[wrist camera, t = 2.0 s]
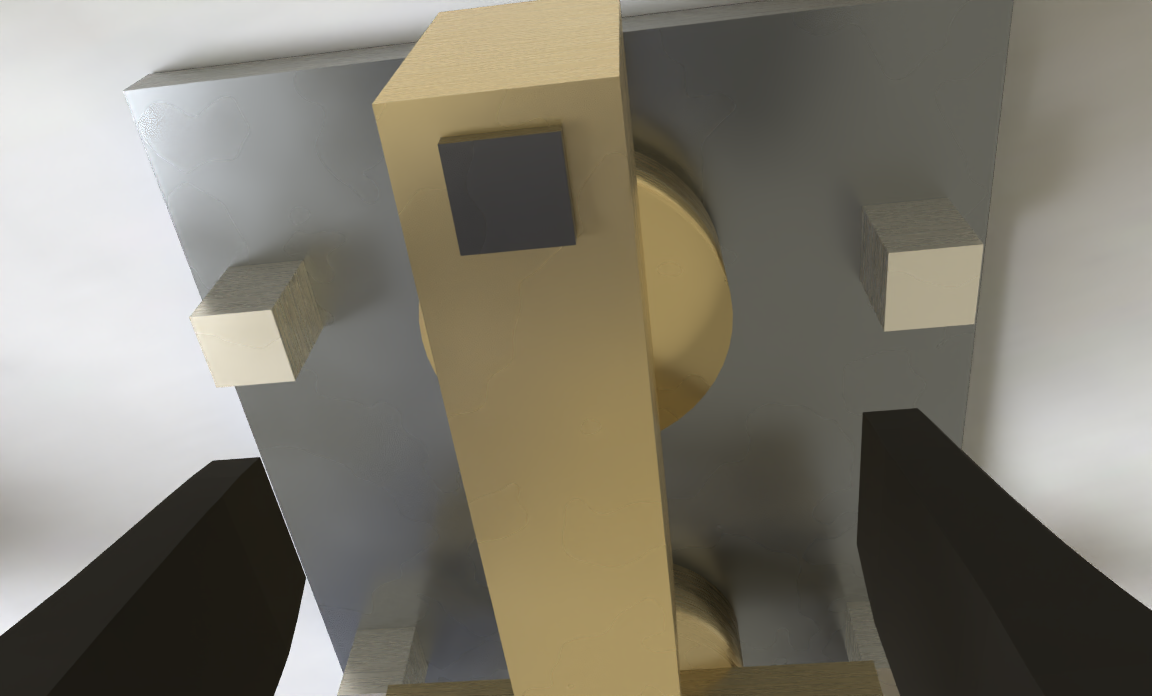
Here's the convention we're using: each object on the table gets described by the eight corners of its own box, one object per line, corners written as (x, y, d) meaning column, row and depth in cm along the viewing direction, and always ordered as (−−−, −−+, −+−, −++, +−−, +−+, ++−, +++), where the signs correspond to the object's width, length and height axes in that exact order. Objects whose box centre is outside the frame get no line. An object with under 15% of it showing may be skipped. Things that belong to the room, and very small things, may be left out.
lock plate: (918, 685, 24) (1024, 1006, 17) (378, 711, 25) (301, 1017, 19) (992, -27, 15) (1259, 120, 9) (149, 74, 16) (-140, 261, 10)
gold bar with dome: (732, 487, 19) (774, 749, 14) (487, 504, 19) (440, 764, 14) (708, -45, 14) (761, 66, 8) (372, -3, 14) (236, 125, 9)
